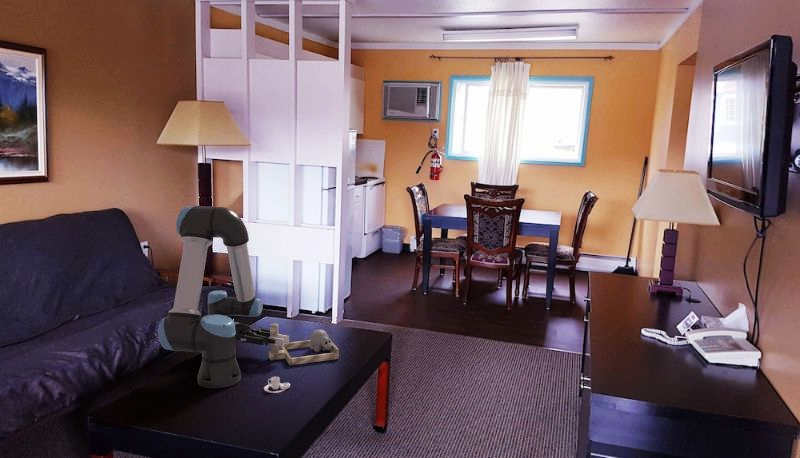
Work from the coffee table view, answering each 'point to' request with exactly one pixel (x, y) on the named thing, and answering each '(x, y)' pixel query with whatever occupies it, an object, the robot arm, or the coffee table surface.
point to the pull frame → (283, 353)
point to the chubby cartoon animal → (320, 341)
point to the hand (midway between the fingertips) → (285, 340)
